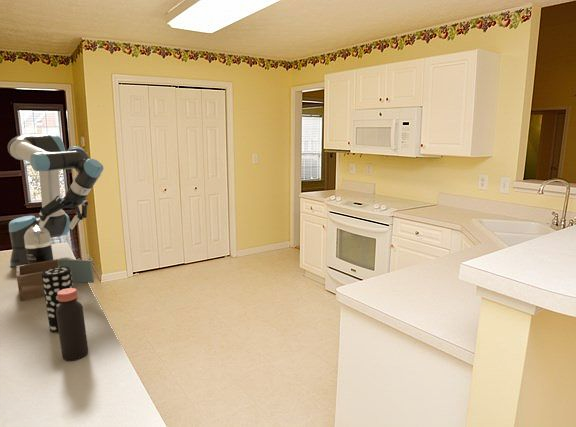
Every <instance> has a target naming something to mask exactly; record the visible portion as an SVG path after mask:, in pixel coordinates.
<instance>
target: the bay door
mask: <svg viewBox="0 0 576 427" xmlns="http://www.w3.org/2000/svg"><path fill="white" fill-rule="evenodd" d="M58 263H59V267H70V268H71V275H72V283H87V282H88V284H90V283H91V284H94V283H95V276H94V267H93V261H92V260H91V259H73V258H72V259H71V258H60V259H59V260H58Z"/></svg>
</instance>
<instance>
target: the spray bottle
mask: <svg viewBox="0 0 576 427" xmlns="http://www.w3.org/2000/svg"><path fill="white" fill-rule="evenodd" d="M24 241H25V248H26V254H27V260H28V264H32V263H38V262H44V261H50V260H54V254H53V246H52V238H50V233H49V231H48V230H47V229H45V228H44V227H43V228H41V227H40V225H38V224H34V225H32V226H31V227H30V228H29V229H28V230H27V231H26V233H25V235H24Z"/></svg>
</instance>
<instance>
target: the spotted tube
mask: <svg viewBox="0 0 576 427" xmlns="http://www.w3.org/2000/svg"><path fill="white" fill-rule="evenodd" d="M42 280H43V287H44V293H45V296H44V298H45V305H46V312H47V319H48V325H49V327H48V328H49V331H50V332H51V333H53V334H59V330H58V323H57V317H56V309H57V307H58V306H59V305H60V303H59V302H58V296H57V292H59V291H60V290H63V289H67V288H74V282H72V275H71V268H70V267H60V266H58V267H55V268H50V269H47V270H45V271H43V272H42Z"/></svg>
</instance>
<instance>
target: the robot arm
mask: <svg viewBox="0 0 576 427" xmlns="http://www.w3.org/2000/svg"><path fill="white" fill-rule="evenodd" d="M7 152H8V153H9V155H10V156H11V157H12V158H14V159H15V160H19V161H26V162H28V163H29V164H30V166H31V168H32V169H33V170H34V171H36V172H38V174H39V185H40V198H41V199H40V200H41V208H40V209H39V211H40V212H39V217H36V216H35V215H25V216H21V217H17V218H14V219H12V220H11V221H9V223H8V232H9V237H10V242H11V249H12V251H11V254H10V259H9V263H10V266H11V267H12V268H16V266H20V265H26V264H28V260H27V254H26V248H25V241H24V235H25V233H26V231H27V230H28V229H29V228H30V227H31V226H32V225H34V224H38V225H40V227H41V228H43V227H44V228H45V229H47V230H48V231H49V233H50V238H51V239H53V238H59V237H64V236H66V235H68V233H69V232H70V230H73V229H75V227H76V226H77V224H78V223H79V222H80V221H83V220H84V219H86V218H87V215H88V214H87V212H88V206H89V202H88V200H87V199H86V198H87V196H88V195H89V193H90V192H91V190H92V188H93V187H94V185H95V184H96V183H97V181H98V179H99V178H100V177H101V176H102V172H103V171H104V165H103V164H102V163H101V162H100V161H98V160H97V159H94V158H90V156H89V155H88V153H87V152H86V150H85V149H84V148H83V147H81V146H78V145H76V146H75V145H73V146H72V147H69V148H67V150H66V148H65V144H64V142H63V139H62V138H61V137H60V136H59V135H57V134H49V133H42V134H21V135H17V136H15V137H13V138H11V140H10V141H9V142H8V143H7ZM73 169H74V170H75V171H76V172H77V175H76V176H75V178H74V180H73V181H72V183H71V184H70V186H69V188H68V189H67V191H66V192H65V196H63V197H62V196H61V187H60V186H61V185H60V172H59V171H60V170H73ZM80 205H81V210H80V207H79V206H80ZM64 209H74V210H75V213H76V214H77V215H74V217H73V218H72V220H70V216H69V215H68V214H67V213H66V211H65V210H64Z"/></svg>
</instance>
